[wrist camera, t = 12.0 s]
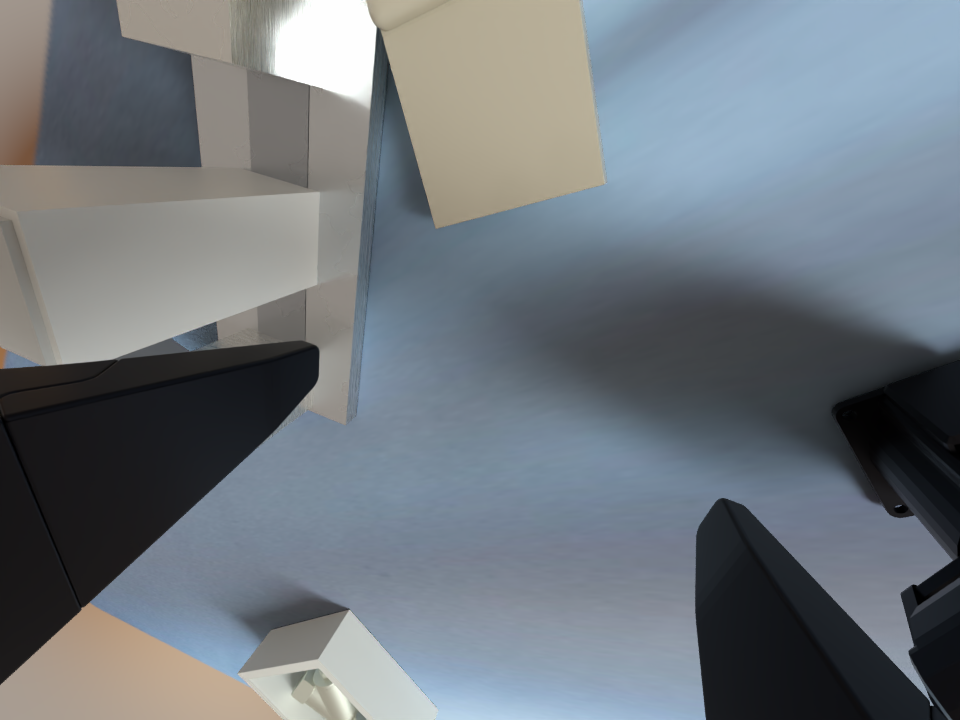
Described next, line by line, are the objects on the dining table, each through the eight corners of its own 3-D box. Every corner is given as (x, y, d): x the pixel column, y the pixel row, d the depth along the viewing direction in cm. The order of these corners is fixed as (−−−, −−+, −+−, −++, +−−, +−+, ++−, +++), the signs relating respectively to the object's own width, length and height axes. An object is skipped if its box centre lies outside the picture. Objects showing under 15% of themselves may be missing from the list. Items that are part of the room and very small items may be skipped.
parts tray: (438, 709, 40) (418, 767, 37) (351, 715, 47) (326, 763, 43) (349, 609, 38) (318, 659, 34) (271, 629, 45) (237, 673, 41)
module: (319, 191, 21) (3, 212, 10) (316, 284, 23) (57, 379, 13) (236, 167, 22) (-133, 162, 11) (241, 258, 24) (-60, 326, 14)
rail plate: (396, -20, 17) (292, -106, 12) (356, 415, 28) (292, 473, 23) (203, -55, 19) (38, -144, 14) (235, 367, 30) (149, 410, 24)
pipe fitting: (332, 636, 43) (309, 663, 45) (307, 674, 39) (285, 702, 42) (394, 682, 42) (368, 707, 45) (375, 725, 39) (348, 749, 42)
